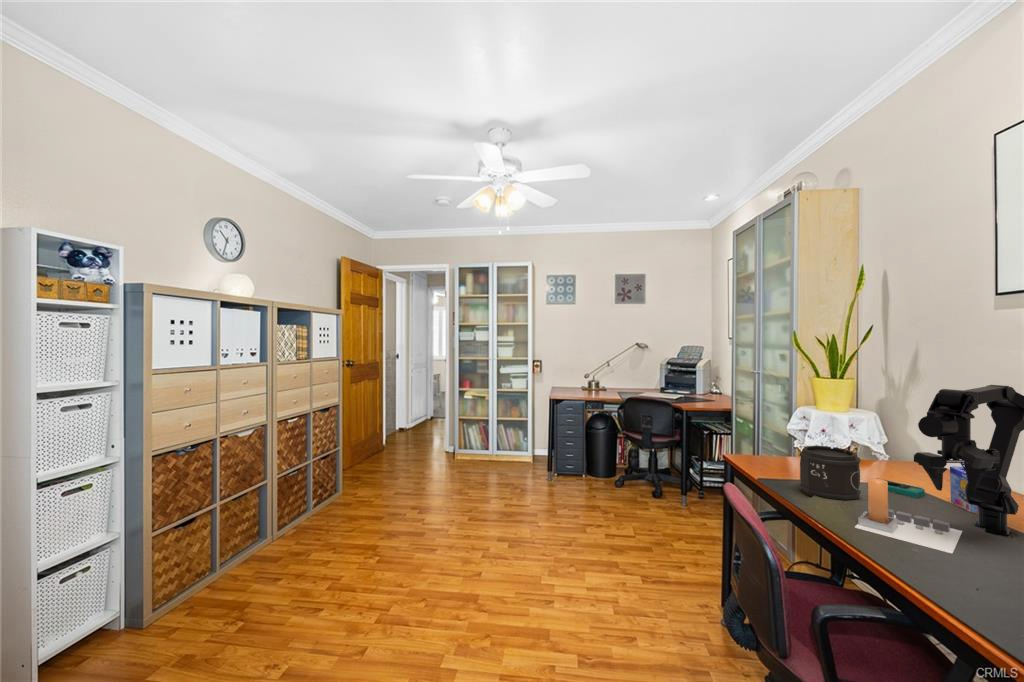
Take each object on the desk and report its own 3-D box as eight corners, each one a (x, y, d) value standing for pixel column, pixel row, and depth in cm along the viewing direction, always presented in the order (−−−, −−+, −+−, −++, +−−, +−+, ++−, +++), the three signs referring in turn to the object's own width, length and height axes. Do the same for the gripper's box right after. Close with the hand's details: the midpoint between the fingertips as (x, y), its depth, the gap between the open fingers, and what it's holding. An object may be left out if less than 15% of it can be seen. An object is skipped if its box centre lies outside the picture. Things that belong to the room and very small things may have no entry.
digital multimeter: (874, 484, 167) (874, 476, 167) (925, 496, 154) (925, 487, 154) (865, 487, 163) (865, 479, 163) (917, 500, 150) (917, 491, 150)
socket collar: (865, 517, 132) (865, 511, 132) (898, 525, 126) (898, 518, 126) (858, 524, 128) (858, 517, 128) (892, 533, 122) (892, 526, 122)
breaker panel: (872, 513, 138) (872, 503, 138) (962, 535, 123) (962, 523, 123) (854, 531, 126) (854, 520, 126) (952, 558, 110) (952, 545, 110)
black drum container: (853, 490, 160) (852, 447, 159) (868, 507, 143) (868, 459, 143) (795, 483, 167) (794, 442, 167) (803, 499, 151) (803, 454, 151)
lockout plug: (874, 520, 130) (873, 477, 130) (891, 526, 126) (891, 481, 126) (865, 523, 128) (864, 479, 128) (882, 529, 124) (881, 484, 124)
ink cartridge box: (948, 501, 148) (948, 459, 147) (969, 503, 146) (968, 460, 146) (970, 513, 138) (970, 467, 138) (992, 514, 137) (992, 468, 136)
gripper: (950, 441, 114) (950, 501, 114) (1023, 441, 114) (1023, 501, 114) (911, 432, 125) (912, 486, 125) (978, 432, 125) (978, 486, 125)
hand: (955, 490), depth 122 cm, fingers open, 9 cm apart
